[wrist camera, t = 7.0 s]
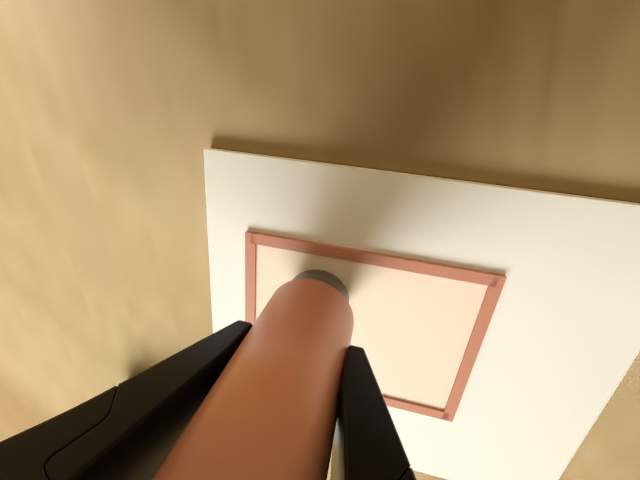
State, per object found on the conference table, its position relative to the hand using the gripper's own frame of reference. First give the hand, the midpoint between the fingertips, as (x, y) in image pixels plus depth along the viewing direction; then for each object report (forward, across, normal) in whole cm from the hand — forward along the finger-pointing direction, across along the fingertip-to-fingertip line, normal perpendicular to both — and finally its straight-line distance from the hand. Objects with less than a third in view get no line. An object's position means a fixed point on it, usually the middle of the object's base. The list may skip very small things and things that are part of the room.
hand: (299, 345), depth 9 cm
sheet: (+4, -3, +2) cm, 5 cm away
